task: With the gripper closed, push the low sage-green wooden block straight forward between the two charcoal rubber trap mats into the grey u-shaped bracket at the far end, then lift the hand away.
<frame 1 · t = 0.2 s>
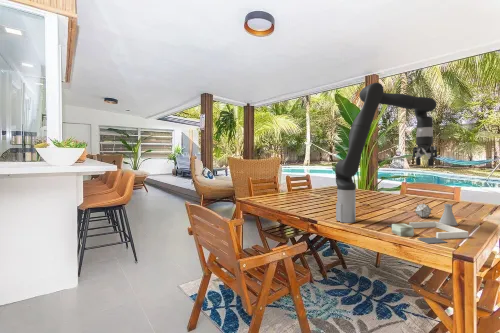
hand: (424, 165, 138), 29 cm above the table, tool pointing down, fingers open, 8 cm apart
grey u-shaped bracket: (436, 232, 113), on the table
game die: (422, 218, 139), on the table
flask: (448, 224, 125), on the table
sage block: (402, 234, 112), on the table
trap mats: (414, 233, 112), on the table
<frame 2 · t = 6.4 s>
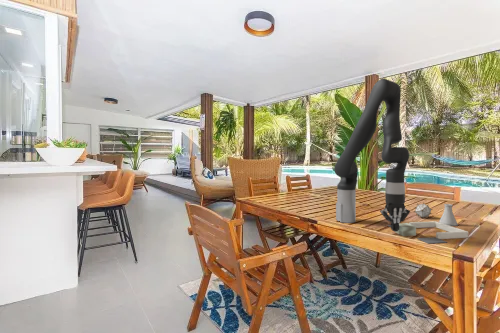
hand: (395, 230, 111), 2 cm above the table, tool pointing down, fingers closed
sage block: (404, 233, 112), on the table, touching gripper
everything else where it was.
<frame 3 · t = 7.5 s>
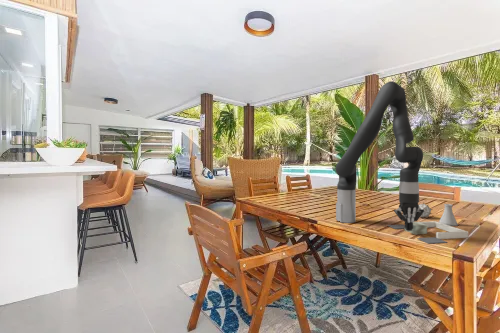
hand: (408, 230, 112), 2 cm above the table, tool pointing down, fingers closed
sage block: (415, 232, 114), on the table
everything else where it was.
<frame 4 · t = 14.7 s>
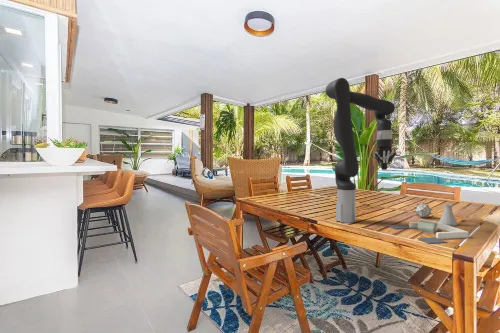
hand: (384, 169, 140), 27 cm above the table, tool pointing down, fingers closed
sage block: (427, 230, 116), on the table
everything else where it was.
at the end: sage block inside the target area (4.2 cm from its centre), on the table; sage block touching table; sage block tilted 0° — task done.
